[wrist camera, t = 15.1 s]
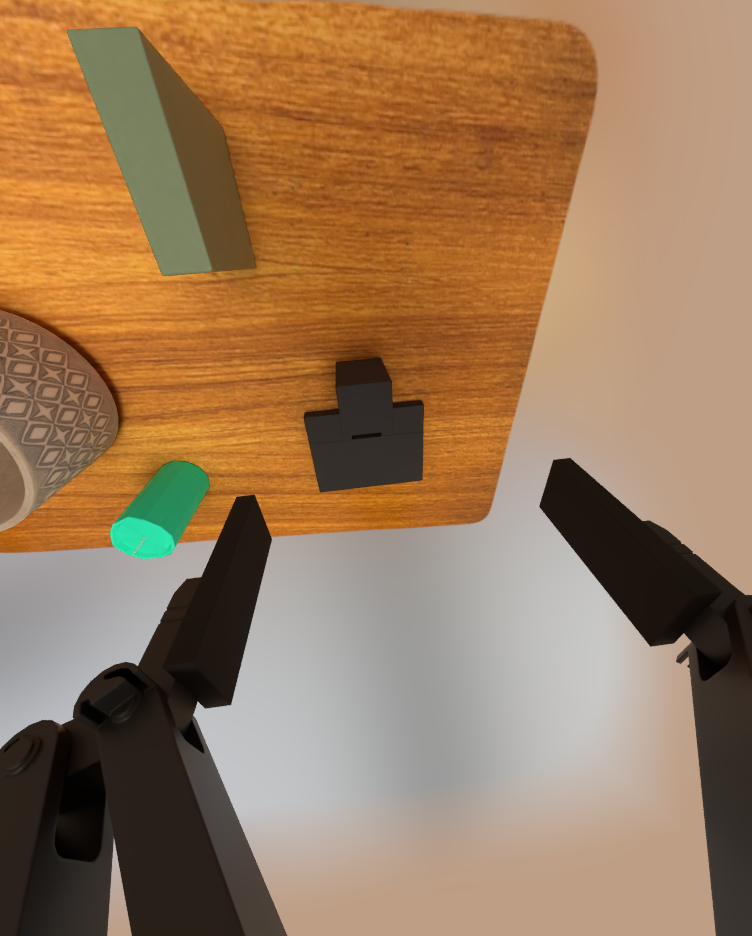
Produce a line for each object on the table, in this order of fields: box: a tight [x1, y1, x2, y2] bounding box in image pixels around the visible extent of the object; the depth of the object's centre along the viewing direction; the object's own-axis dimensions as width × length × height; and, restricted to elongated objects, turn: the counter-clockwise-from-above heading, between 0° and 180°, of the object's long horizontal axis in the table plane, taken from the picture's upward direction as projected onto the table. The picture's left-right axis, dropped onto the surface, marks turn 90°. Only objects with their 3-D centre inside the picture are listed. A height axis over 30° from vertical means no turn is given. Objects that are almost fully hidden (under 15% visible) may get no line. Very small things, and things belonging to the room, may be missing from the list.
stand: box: [67, 27, 256, 276], centre depth 21 cm, size 3×9×12 cm, turn 4°
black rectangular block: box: [336, 358, 394, 436], centre depth 33 cm, size 5×8×8 cm, turn 4°
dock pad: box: [304, 400, 424, 492], centre depth 39 cm, size 14×11×2 cm
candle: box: [110, 461, 210, 559], centre depth 35 cm, size 6×6×12 cm
